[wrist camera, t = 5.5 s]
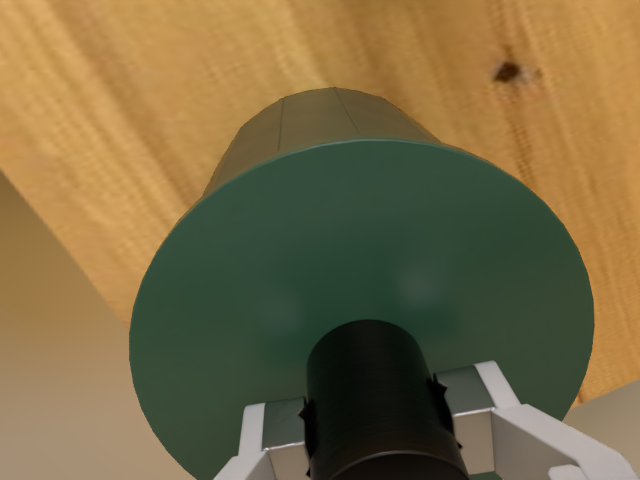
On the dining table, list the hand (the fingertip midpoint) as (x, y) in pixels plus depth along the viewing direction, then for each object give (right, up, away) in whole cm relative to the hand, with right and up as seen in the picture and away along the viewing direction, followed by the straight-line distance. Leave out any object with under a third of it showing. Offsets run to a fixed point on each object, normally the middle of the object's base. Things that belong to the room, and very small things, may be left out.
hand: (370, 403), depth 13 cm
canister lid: (0, +1, +2) cm, 2 cm away
